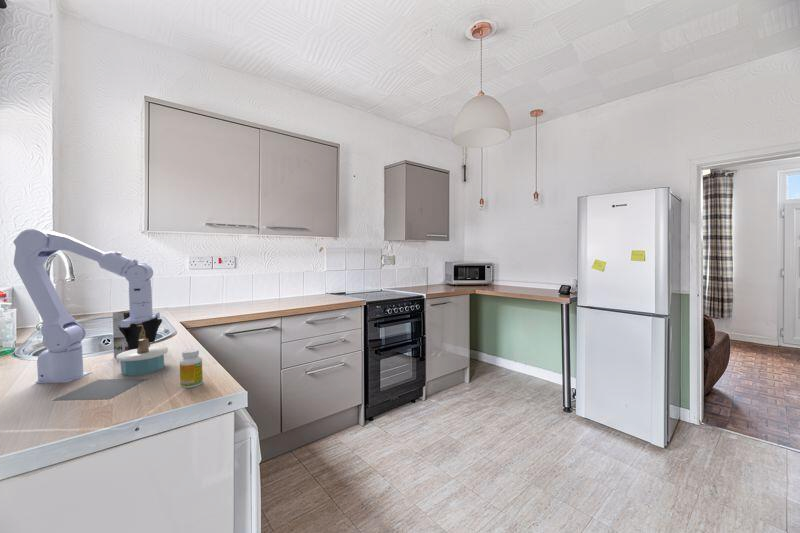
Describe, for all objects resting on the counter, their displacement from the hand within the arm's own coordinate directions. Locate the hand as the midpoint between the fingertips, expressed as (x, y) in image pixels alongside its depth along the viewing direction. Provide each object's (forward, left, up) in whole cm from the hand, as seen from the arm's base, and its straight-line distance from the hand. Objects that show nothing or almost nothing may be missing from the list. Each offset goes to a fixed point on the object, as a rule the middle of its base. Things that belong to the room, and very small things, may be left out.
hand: (142, 345), depth 110 cm
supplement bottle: (+22, -13, -8) cm, 27 cm away
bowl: (0, 0, -8) cm, 8 cm away
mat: (0, -16, -8) cm, 17 cm away
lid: (0, 0, -3) cm, 3 cm away
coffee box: (-16, +18, -8) cm, 25 cm away
